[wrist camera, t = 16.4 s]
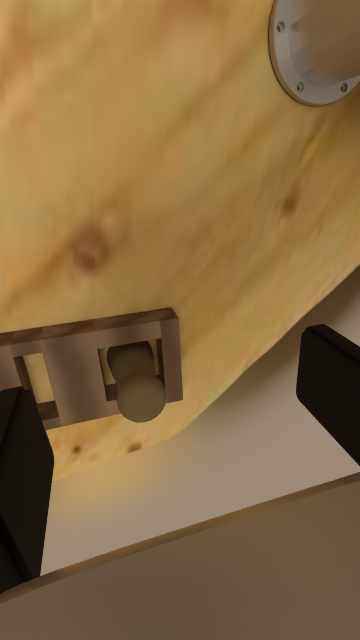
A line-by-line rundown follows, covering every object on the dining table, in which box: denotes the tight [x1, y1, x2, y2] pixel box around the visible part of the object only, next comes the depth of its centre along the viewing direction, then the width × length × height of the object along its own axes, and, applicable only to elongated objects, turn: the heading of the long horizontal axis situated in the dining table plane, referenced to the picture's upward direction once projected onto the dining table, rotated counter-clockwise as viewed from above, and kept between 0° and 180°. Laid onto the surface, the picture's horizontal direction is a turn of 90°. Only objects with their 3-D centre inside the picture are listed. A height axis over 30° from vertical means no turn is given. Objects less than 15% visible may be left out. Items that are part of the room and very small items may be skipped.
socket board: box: [0, 308, 183, 430], centre depth 39 cm, size 22×12×4 cm, turn 93°
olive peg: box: [107, 341, 166, 422], centre depth 37 cm, size 6×6×11 cm
